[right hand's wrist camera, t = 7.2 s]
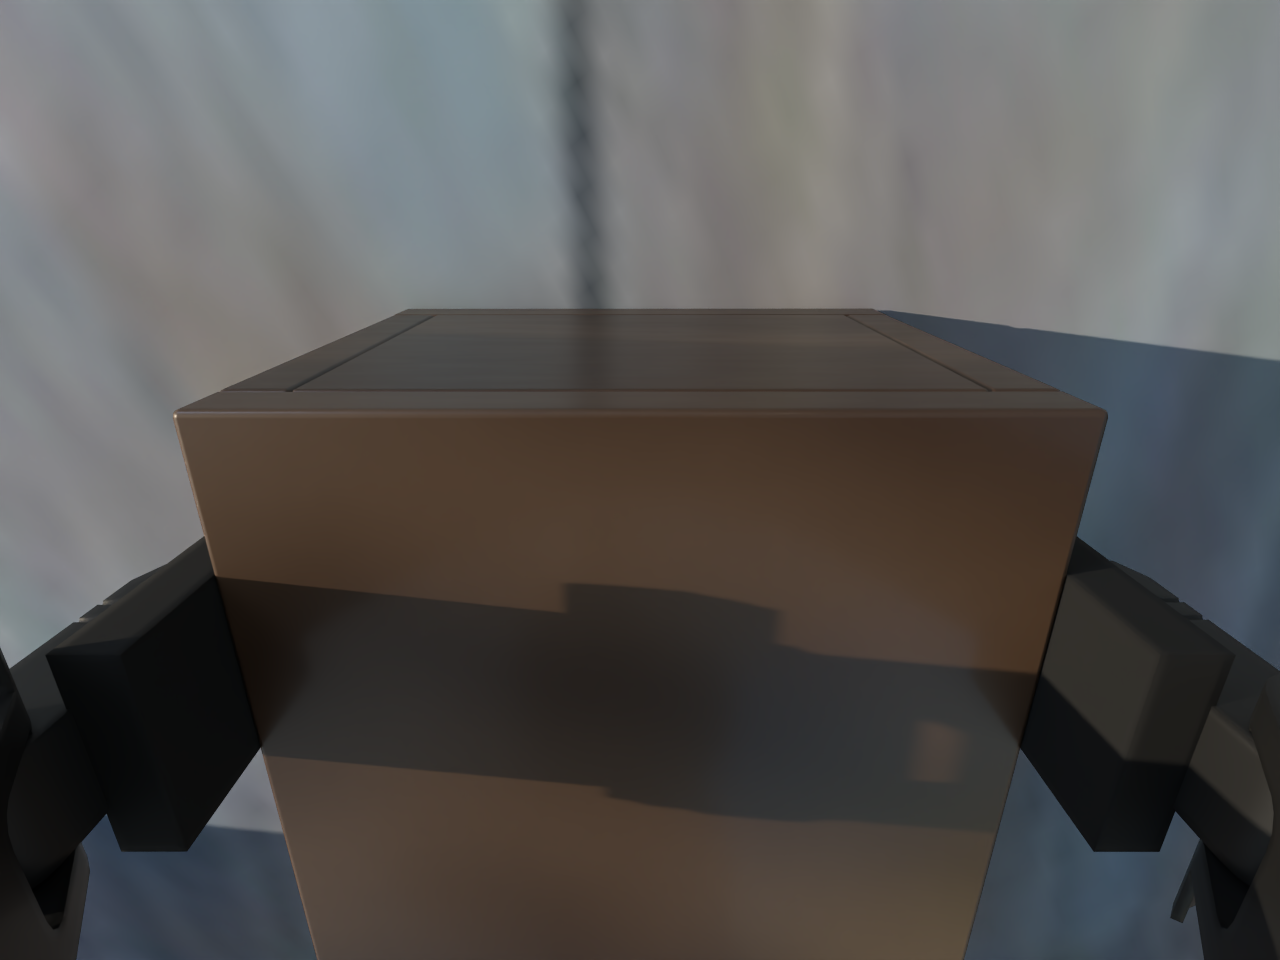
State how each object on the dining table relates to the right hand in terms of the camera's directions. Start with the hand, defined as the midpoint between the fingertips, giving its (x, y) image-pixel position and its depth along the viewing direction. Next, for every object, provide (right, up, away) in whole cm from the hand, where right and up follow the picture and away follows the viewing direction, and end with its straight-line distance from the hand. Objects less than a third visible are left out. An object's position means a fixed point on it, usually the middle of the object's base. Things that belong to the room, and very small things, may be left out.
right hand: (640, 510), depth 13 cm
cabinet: (0, -6, +6) cm, 8 cm away
